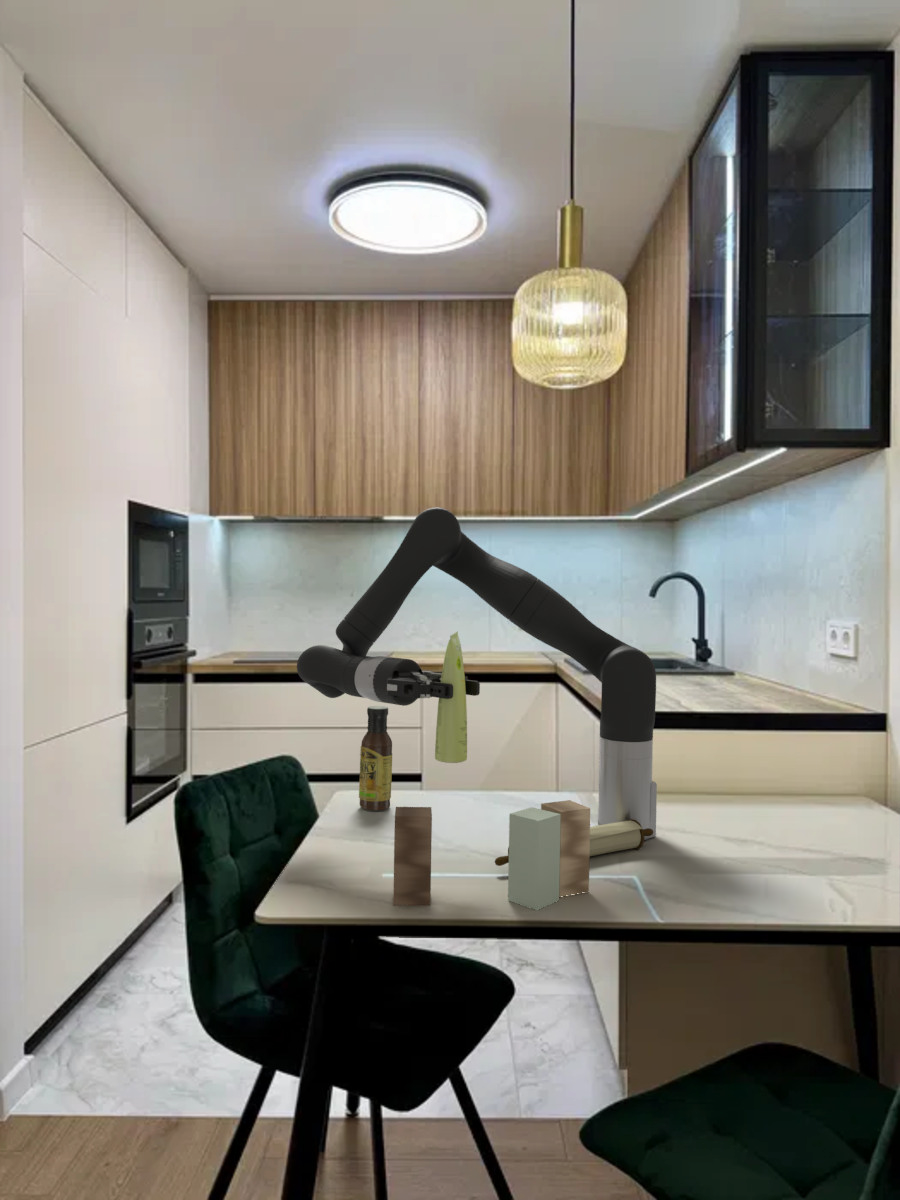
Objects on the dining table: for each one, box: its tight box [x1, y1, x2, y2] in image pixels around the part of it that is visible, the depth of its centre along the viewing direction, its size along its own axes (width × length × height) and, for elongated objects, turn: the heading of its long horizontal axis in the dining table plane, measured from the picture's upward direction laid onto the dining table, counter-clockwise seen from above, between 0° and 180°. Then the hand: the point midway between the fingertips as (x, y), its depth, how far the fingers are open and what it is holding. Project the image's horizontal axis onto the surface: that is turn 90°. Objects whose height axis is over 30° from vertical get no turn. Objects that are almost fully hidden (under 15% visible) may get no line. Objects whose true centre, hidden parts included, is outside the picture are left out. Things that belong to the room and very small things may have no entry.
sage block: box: [507, 806, 561, 911], centre depth 113 cm, size 5×5×12 cm
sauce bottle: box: [358, 705, 393, 812], centre depth 160 cm, size 6×6×20 cm
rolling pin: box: [494, 819, 653, 867], centre depth 131 cm, size 32×6×5 cm, turn 121°
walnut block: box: [392, 806, 433, 906], centre depth 113 cm, size 5×5×12 cm
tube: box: [434, 631, 468, 764], centre depth 125 cm, size 6×5×20 cm
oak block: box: [540, 799, 591, 897], centre depth 117 cm, size 5×5×12 cm
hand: (464, 690), depth 123 cm, fingers closed on tube, 5 cm apart
